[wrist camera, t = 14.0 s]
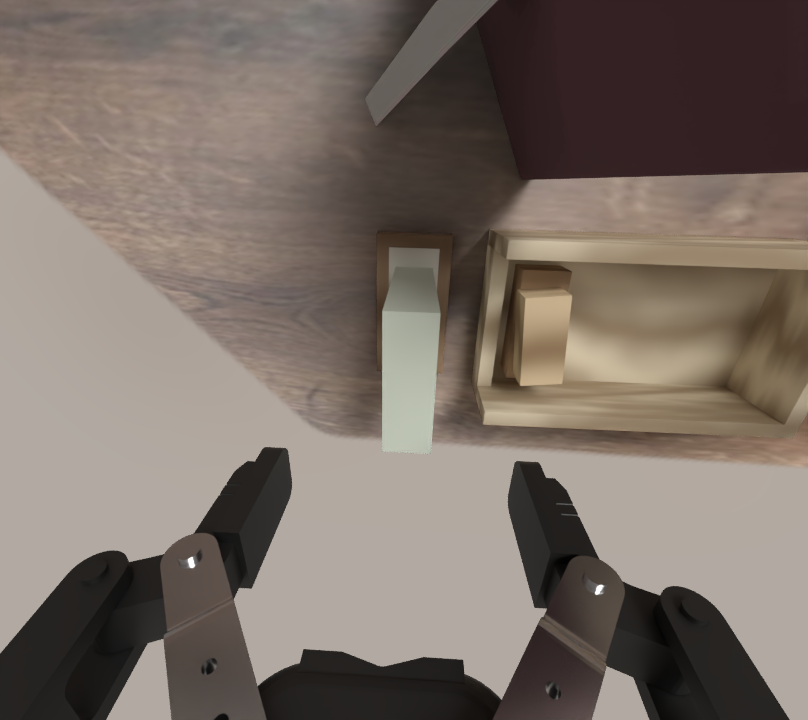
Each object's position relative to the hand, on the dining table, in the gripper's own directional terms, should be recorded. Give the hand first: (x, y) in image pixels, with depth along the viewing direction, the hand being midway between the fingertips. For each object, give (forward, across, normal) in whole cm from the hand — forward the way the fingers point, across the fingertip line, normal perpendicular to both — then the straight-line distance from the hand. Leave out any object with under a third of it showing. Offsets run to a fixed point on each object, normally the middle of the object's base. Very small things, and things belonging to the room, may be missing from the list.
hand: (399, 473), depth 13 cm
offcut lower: (+20, -10, +1) cm, 23 cm away
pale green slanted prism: (+20, 0, +1) cm, 20 cm away
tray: (+22, -18, +1) cm, 28 cm away
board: (+22, 0, 0) cm, 22 cm away
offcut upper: (+18, -10, +1) cm, 21 cm away
